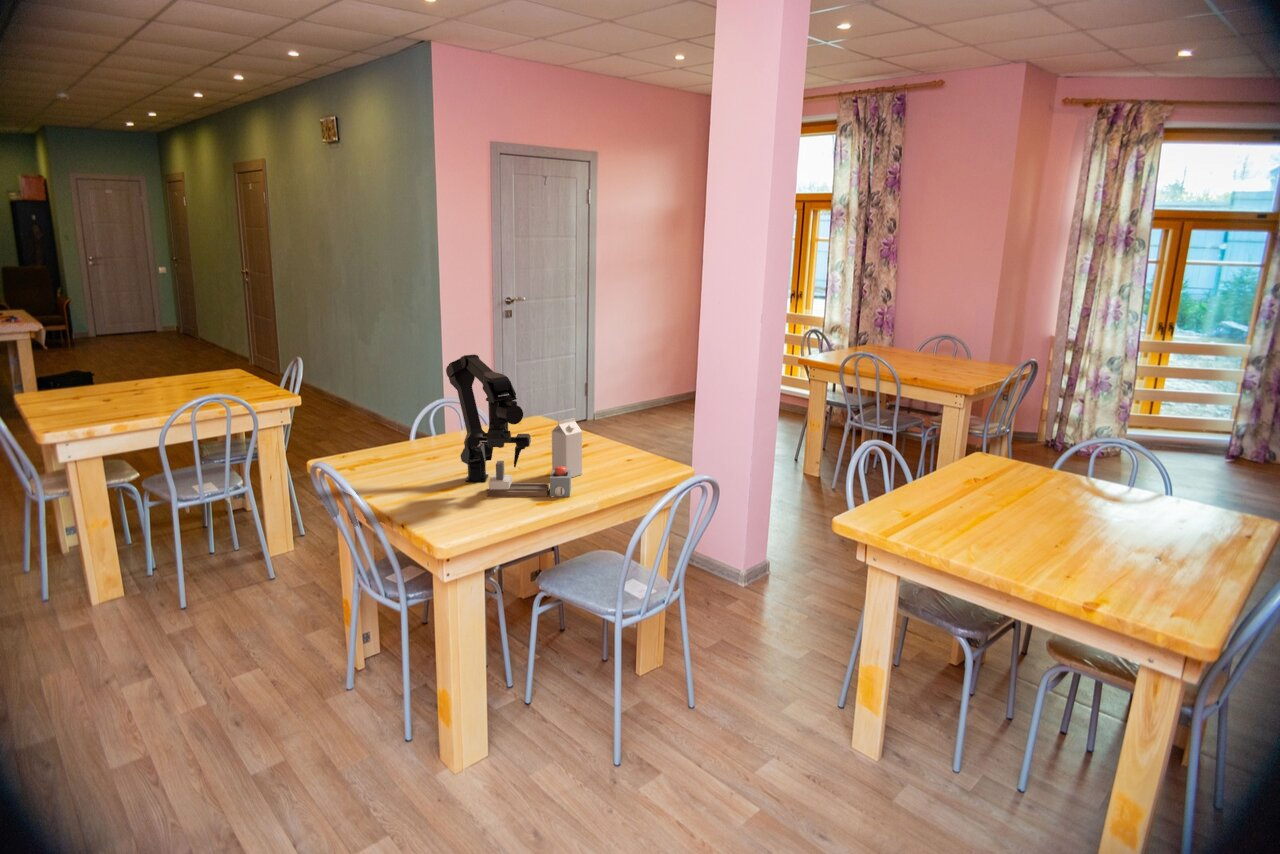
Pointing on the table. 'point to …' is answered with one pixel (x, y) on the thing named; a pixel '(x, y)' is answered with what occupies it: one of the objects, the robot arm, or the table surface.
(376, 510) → the table surface
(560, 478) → the end cabinet
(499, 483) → the carriage
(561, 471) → the button
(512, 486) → the rail
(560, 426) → the milk carton
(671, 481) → the table surface
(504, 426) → the robot arm
